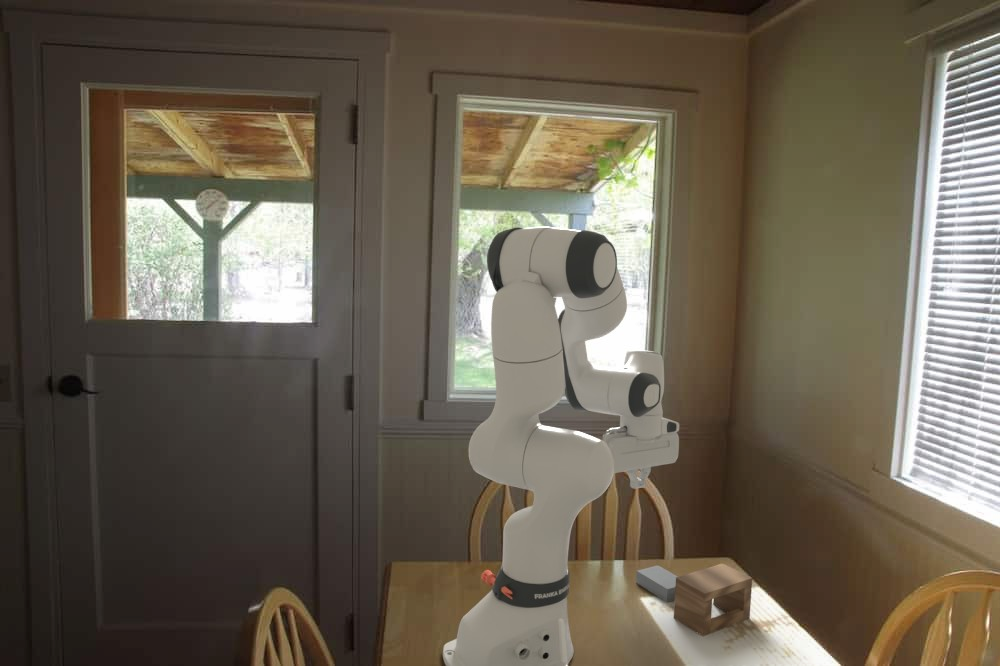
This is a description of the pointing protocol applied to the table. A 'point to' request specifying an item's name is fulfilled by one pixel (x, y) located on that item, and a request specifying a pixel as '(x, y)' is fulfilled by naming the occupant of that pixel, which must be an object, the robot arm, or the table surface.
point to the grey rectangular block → (658, 582)
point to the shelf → (712, 584)
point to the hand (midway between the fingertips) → (637, 487)
